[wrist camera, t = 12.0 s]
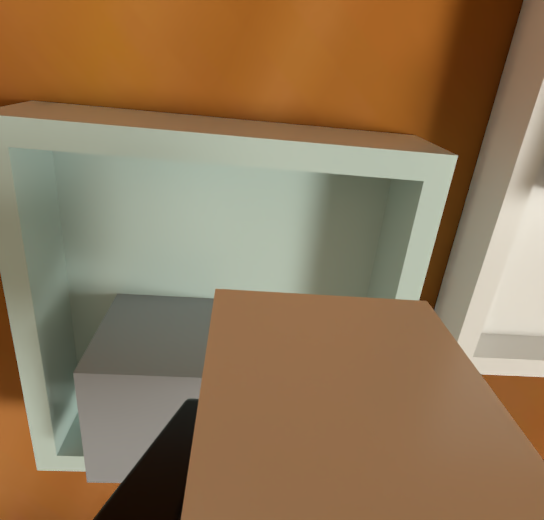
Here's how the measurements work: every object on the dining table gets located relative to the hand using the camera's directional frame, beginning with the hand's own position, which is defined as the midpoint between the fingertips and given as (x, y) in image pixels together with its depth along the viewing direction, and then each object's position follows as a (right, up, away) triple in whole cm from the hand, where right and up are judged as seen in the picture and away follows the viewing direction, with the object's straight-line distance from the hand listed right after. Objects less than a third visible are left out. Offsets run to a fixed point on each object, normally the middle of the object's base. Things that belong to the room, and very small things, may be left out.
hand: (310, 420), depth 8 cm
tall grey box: (-5, 0, +9) cm, 11 cm away
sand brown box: (0, 0, 0) cm, 1 cm away
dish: (-3, +2, +9) cm, 10 cm away
